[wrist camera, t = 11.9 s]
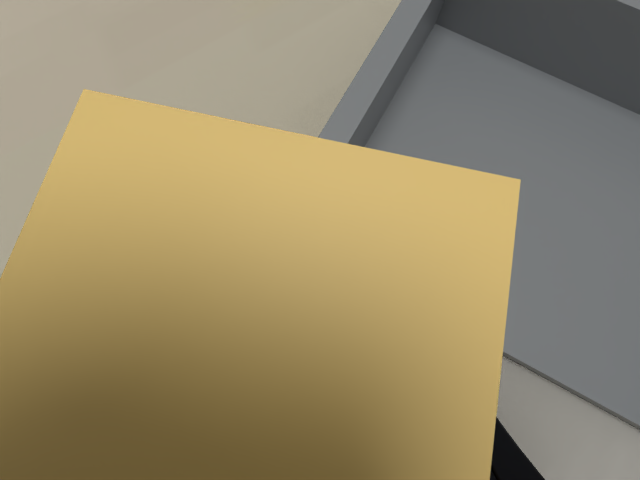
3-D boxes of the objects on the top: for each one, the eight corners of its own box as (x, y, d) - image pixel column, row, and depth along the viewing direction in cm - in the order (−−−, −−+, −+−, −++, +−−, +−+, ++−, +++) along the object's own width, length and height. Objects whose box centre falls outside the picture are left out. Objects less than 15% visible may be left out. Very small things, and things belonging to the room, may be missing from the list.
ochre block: (345, 412, 14) (459, 781, 3) (226, 383, 15) (-142, 601, 3) (369, 290, 16) (520, 179, 4) (258, 265, 16) (83, 88, 4)
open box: (726, 476, 17) (932, 554, 12) (289, 238, 20) (277, 203, 14) (802, 184, 21) (991, 130, 15) (421, 15, 23) (455, -88, 18)
